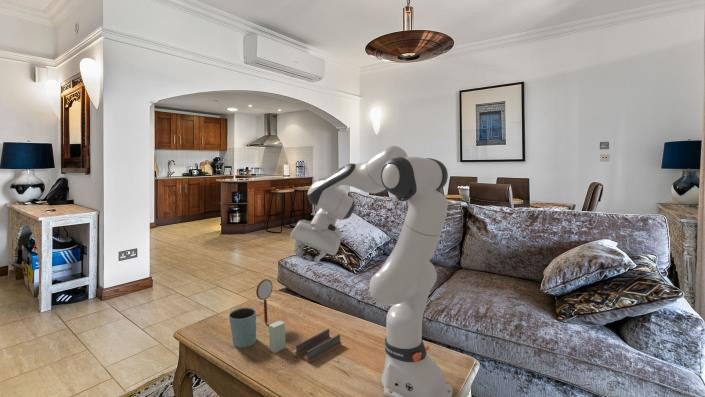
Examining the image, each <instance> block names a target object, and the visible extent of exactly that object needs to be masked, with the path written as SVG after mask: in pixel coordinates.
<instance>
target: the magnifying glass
mask: <svg viewBox="0 0 705 397" xmlns="http://www.w3.org/2000/svg"><path fill="white" fill-rule="evenodd" d="M255 290H256V292H255V294H256V297H257V298H258V299H259V300H262V301H263V313H264V314H263V316H264V318H263V319H264V323H265V325H267V324H268V303H267V302H268V301H267V299H268V298H269V297H270V296H271V294H272V292H273V283H272V281H271V280H270V279H267V278H266V279H265V278H264V279H263V280H260V282H259V283H258V285H257V286H256V289H255Z"/></svg>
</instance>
